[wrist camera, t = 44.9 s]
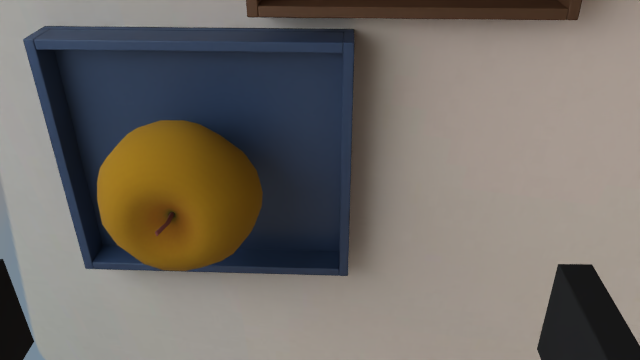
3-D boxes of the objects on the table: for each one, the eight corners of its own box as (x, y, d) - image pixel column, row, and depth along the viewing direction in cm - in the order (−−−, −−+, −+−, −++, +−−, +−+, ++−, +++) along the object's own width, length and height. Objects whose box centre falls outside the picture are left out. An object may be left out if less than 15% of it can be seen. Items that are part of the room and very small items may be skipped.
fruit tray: (99, 246, 42) (85, 269, 40) (44, 25, 34) (22, 39, 31) (347, 252, 41) (347, 276, 39) (354, 29, 33) (354, 42, 31)
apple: (287, 115, 35) (270, 192, 28) (251, 227, 40) (228, 320, 32) (142, 70, 34) (82, 137, 26) (122, 190, 39) (66, 278, 31)
